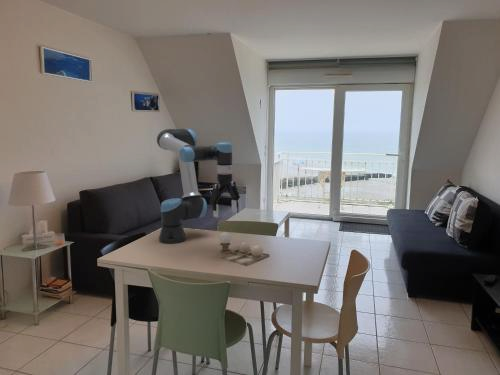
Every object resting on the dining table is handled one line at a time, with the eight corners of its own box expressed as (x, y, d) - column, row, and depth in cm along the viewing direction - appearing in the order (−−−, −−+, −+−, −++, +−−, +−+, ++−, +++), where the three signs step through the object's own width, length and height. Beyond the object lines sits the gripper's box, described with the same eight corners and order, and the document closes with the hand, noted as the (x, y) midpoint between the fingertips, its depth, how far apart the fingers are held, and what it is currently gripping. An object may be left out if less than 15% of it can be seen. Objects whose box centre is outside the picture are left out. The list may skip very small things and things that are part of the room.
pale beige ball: (235, 253, 203) (235, 242, 202) (243, 250, 207) (243, 239, 206) (244, 255, 199) (244, 244, 198) (251, 253, 204) (252, 241, 203)
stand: (218, 252, 207) (218, 243, 206) (225, 249, 211) (225, 241, 210) (225, 254, 203) (225, 245, 203) (232, 251, 207) (232, 243, 206)
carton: (219, 258, 196) (219, 255, 196) (242, 250, 209) (242, 247, 209) (246, 266, 185) (246, 263, 185) (269, 257, 198) (269, 254, 198)
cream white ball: (248, 256, 197) (248, 245, 196) (255, 254, 202) (255, 242, 201) (257, 259, 194) (257, 247, 193) (265, 256, 198) (265, 244, 197)
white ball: (217, 244, 206) (216, 232, 205) (225, 241, 210) (224, 230, 209) (225, 246, 202) (225, 234, 201) (233, 243, 207) (233, 232, 206)
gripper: (212, 176, 189) (213, 220, 192) (246, 171, 208) (246, 211, 211) (201, 175, 193) (202, 217, 197) (235, 170, 212) (236, 209, 216)
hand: (225, 214), depth 204 cm, fingers open, 13 cm apart
